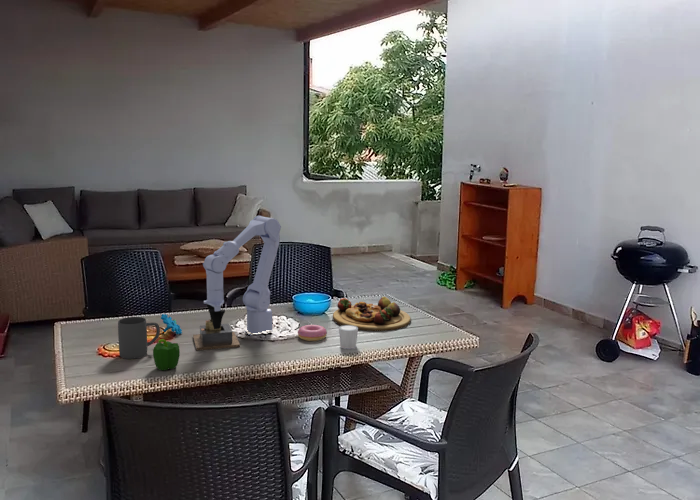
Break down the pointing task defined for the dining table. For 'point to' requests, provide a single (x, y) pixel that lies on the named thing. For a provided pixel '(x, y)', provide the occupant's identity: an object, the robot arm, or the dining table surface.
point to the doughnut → (312, 332)
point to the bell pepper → (166, 355)
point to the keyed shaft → (210, 326)
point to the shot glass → (348, 336)
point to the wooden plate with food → (371, 315)
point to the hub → (215, 338)
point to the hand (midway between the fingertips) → (215, 325)
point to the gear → (171, 324)
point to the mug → (134, 337)
